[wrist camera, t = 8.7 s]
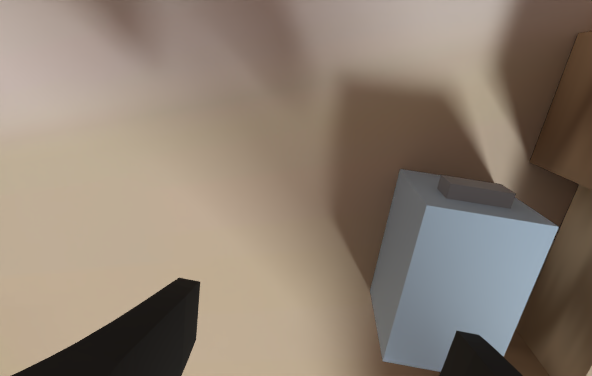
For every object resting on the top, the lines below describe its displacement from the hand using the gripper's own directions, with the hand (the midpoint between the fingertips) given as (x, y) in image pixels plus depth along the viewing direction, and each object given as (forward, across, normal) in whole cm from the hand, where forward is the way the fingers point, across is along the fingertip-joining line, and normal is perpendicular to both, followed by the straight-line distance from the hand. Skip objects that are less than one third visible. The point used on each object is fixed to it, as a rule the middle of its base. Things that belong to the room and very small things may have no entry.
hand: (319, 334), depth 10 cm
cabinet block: (+9, -5, 0) cm, 10 cm away
